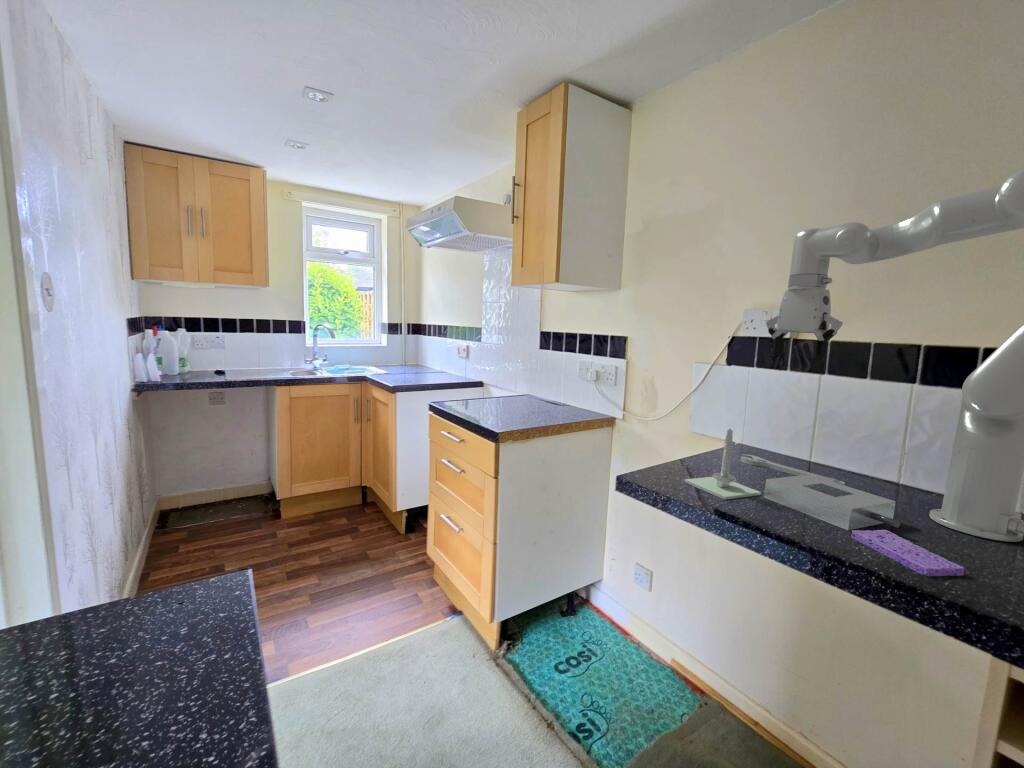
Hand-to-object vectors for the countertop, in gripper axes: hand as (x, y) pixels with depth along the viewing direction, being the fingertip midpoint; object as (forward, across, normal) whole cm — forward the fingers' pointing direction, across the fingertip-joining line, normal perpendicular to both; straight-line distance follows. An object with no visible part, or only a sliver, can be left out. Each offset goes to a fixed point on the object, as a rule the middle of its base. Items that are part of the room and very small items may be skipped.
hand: (797, 356), depth 107 cm
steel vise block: (+30, -19, +11) cm, 37 cm away
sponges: (+31, -34, +19) cm, 50 cm away
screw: (+30, -2, +22) cm, 37 cm away
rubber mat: (+30, -1, +23) cm, 38 cm away
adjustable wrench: (+31, +4, -8) cm, 32 cm away
